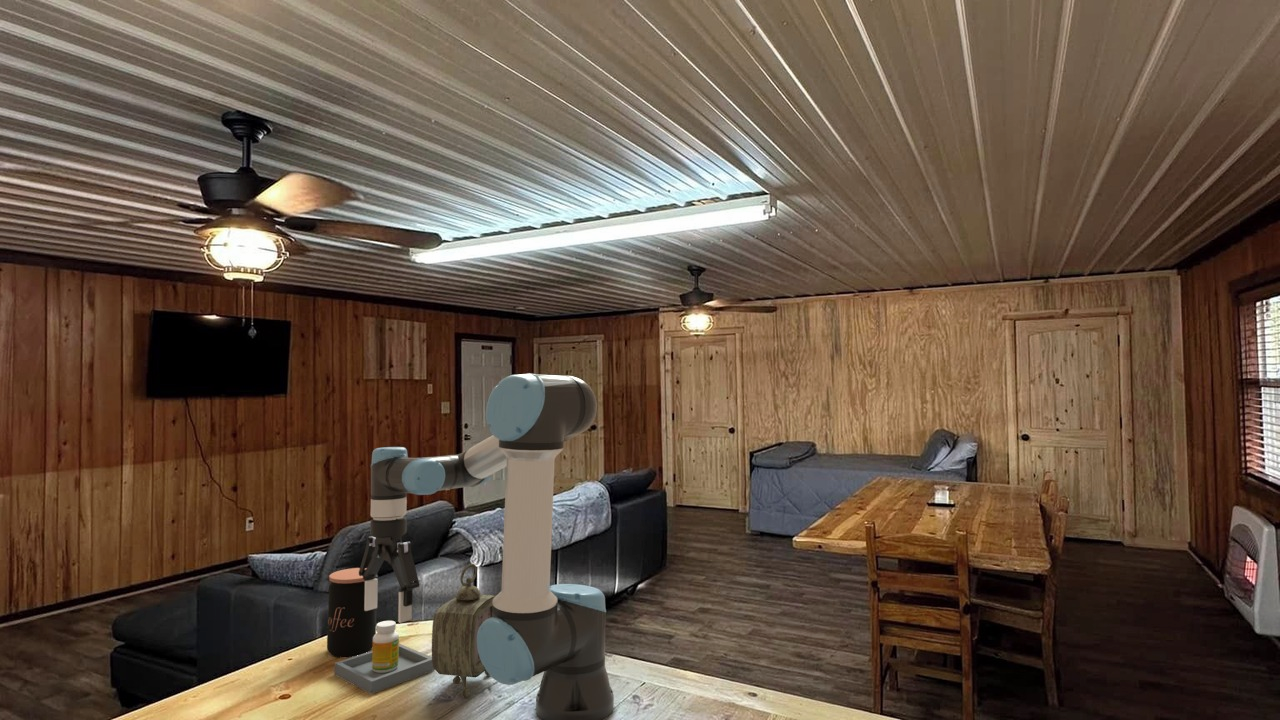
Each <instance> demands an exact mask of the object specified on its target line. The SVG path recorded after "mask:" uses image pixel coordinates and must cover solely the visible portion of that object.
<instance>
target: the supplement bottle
mask: <svg viewBox="0 0 1280 720" xmlns="http://www.w3.org/2000/svg"><path fill="white" fill-rule="evenodd" d="M396 625H397V624H396V621H394V620H383V621H380V622H379V621H378V623H376V634H375V635H374V636H373V647H372V650H371V651H372V670H373V671H374V672H376V673H386V672H391V671H393V670H395V669H396V668H397V667H398V657H399V644H400V634H399V632H398V631H396Z"/></svg>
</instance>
